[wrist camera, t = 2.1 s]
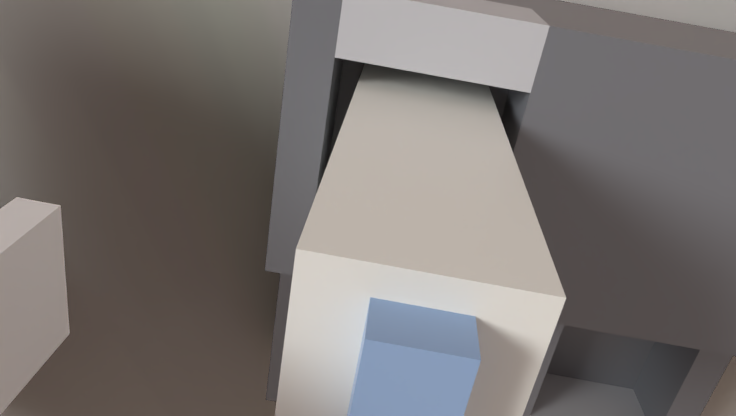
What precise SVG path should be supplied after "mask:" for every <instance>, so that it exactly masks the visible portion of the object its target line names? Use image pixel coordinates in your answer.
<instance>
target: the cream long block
mask: <svg viewBox="0 0 736 416" xmlns="http://www.w3.org/2000/svg"><path fill="white" fill-rule="evenodd" d="M565 300H566V296H565V293H564V290H563V287H562V285H561V282H560V279H559V277H558V274H557V271H556V268H555V266H554V263H553V260H552V257H551V255H550V252H549V249H548V247H547V244H546V241H545V238H544V236H543V233H542V230H541V227H540V225H539V222H538V219H537V217H536V214H535V211H534V208H533V206H532V203H531V200H530V198H529V195H528V192H527V189H526V187H525V184H524V181H523V178H522V176H521V173H520V170H519V168H518V165H517V162H516V159H515V157H514V154H513V151H512V148H511V146H510V143H509V140H508V138H507V135H506V132H505V129H504V127H503V124H502V121H501V118H500V116H499V113H498V110H497V108H496V105H495V102H494V99H493V97H492V94H491V91H490V88H489V86H488V85H483V84H478V83H472V82H467V81H461V80H456V79H450V78H445V77H439V76H434V75H428V74H423V73H417V72H412V71H406V70H401V69H395V68H390V67H384V66H379V65H373V64H368V63H365V65H364V67H363V70H362V73H361V75H360V78H359V81H358V83H357V86H356V89H355V91H354V94H353V97H352V99H351V102H350V105H349V108H348V110H347V113H346V116H345V118H344V121H343V124H342V126H341V129H340V132H339V134H338V137H337V140H336V142H335V145H334V148H333V151H332V153H331V156H330V159H329V161H328V164H327V167H326V169H325V172H324V175H323V177H322V180H321V183H320V185H319V188H318V191H317V193H316V196H315V199H314V202H313V204H312V207H311V210H310V212H309V215H308V218H307V220H306V223H305V226H304V228H303V231H302V234H301V236H300V239H299V242H298V244H297V247H296V252H295V260H294V268H293V276H292V283H291V291H290V299H289V307H288V315H287V323H286V331H285V339H284V347H283V354H282V362H281V370H280V378H279V386H278V394H277V402H276V410H275V416H523V413H524V411H525V408H526V405H527V402H528V400H529V397H530V394H531V392H532V389H533V386H534V384H535V381H536V378H537V376H538V373H539V370H540V368H541V365H542V362H543V359H544V357H545V354H546V351H547V349H548V346H549V343H550V341H551V338H552V335H553V333H554V330H555V327H556V325H557V322H558V319H559V316H560V314H561V311H562V308H563V306H564V303H565Z"/></svg>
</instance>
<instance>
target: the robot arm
mask: <svg viewBox="0 0 736 416" xmlns="http://www.w3.org/2000/svg"><path fill="white" fill-rule="evenodd" d="M69 334H70V330H69V316H68V302H67V287H66V273H65V259H64V244H63V230H62V216H61V205H56V204H51V203H45V202H40V201H35V200H29V199H24V198H19V197H16V198H15V199H13V200H12V201H10V202H9V203H8V204H6V205H5V206H3V207H2V208H0V415H1V414H2V413H3V412H4V410H5V409H6V408H7V407H8V406H9V404H10V403H11V402H12V401H13V400H14V399H15V397H16V396H17V395H18V394H19V393H20V392H21V390H22V389H23V388H24V387H25V386H26V385H27V383H28V382H29V381H30V380H31V379H32V377H33V376H34V375H35V374H36V373H37V372H38V370H39V369H40V368H41V367H42V366H43V365H44V363H45V362H46V361H47V360H48V359H49V357H50V356H51V355H52V354H53V353H54V352H55V350H56V349H57V348H58V347H59V346H60V345H61V343H62V342H63V341H64V340H65V339H66V338H67V336H68V335H69Z"/></svg>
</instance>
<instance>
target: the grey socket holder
mask: <svg viewBox="0 0 736 416" xmlns="http://www.w3.org/2000/svg"><path fill="white" fill-rule="evenodd" d="M365 63H368V64H373V65H379V66H384V67H390V68H395V69H401V70H406V71H412V72H417V73H423V74H428V75H434V76H439V77H445V78H450V79H456V80H461V81H467V82H472V83H478V84H483V85H488V86H489V88H490V91H491V94H492V97H493V99H494V102H495V105H496V108H497V110H498V113H499V116H500V118H501V121H502V124H503V127H504V129H505V132H506V135H507V138H508V140H509V143H510V146H511V148H512V151H513V154H514V157H515V159H516V162H517V165H518V168H519V170H520V173H521V176H522V178H523V181H524V184H525V187H526V189H527V192H528V195H529V198H530V200H531V203H532V206H533V208H534V211H535V214H536V217H537V219H538V222H539V225H540V227H541V230H542V233H543V236H544V238H545V241H546V244H547V247H548V249H549V252H550V255H551V257H552V260H553V263H554V266H555V268H556V271H557V274H558V277H559V279H560V282H561V285H562V287H563V290H564V293H565V296H566V300H565V303H564V306H563V308H562V311H561V314H560V316H559V319H558V322H557V325H556V327H555V330H554V333H553V335H552V338H551V341H550V343H549V346H548V349H547V351H546V354H545V357H544V359H543V362H542V365H541V368H540V370H539V373H538V376H537V378H536V381H535V384H534V386H533V389H532V392H531V394H530V397H529V400H528V402H527V405H526V408H525V411H524V413H523V416H700V415H701V413H702V411H703V409H704V408H705V406H706V404H707V402H708V400H709V398H710V397H711V395H712V393H713V391H714V389H715V388H716V386H717V384H718V382H719V380H720V378H721V377H722V375H723V373H724V371H725V369H726V367H727V366H728V364H729V362H730V360H731V358H732V356H736V33H735V32H729V31H724V30H718V29H713V28H707V27H702V26H696V25H691V24H685V23H680V22H674V21H669V20H663V19H658V18H652V17H647V16H641V15H636V14H630V13H625V12H619V11H614V10H608V9H603V8H597V7H592V6H586V5H581V4H575V3H570V2H564V1H559V0H293V1H292V11H291V20H290V30H289V40H288V50H287V59H286V69H285V79H284V89H283V98H282V108H281V118H280V128H279V137H278V147H277V157H276V167H275V177H274V186H273V196H272V206H271V216H270V225H269V235H268V245H267V255H266V264H265V271H270V272H275V273H280V281H279V289H278V298H277V306H276V315H275V324H274V332H273V341H272V350H271V358H270V367H269V375H268V384H267V393H266V400H270V401H276V402H277V394H278V386H279V378H280V370H281V362H282V354H283V347H284V339H285V331H286V323H287V315H288V307H289V299H290V291H291V283H292V276H293V268H294V260H295V252H296V247H297V244H298V242H299V239H300V236H301V234H302V231H303V228H304V226H305V223H306V220H307V218H308V215H309V212H310V210H311V207H312V204H313V202H314V199H315V196H316V193H317V191H318V188H319V185H320V183H321V180H322V177H323V175H324V172H325V169H326V167H327V164H328V161H329V159H330V156H331V153H332V151H333V148H334V145H335V142H336V140H337V137H338V134H339V132H340V129H341V126H342V124H343V121H344V118H345V116H346V113H347V110H348V108H349V105H350V102H351V99H352V97H353V94H354V91H355V89H356V86H357V83H358V81H359V78H360V75H361V73H362V70H363V67H364V65H365Z"/></svg>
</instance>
